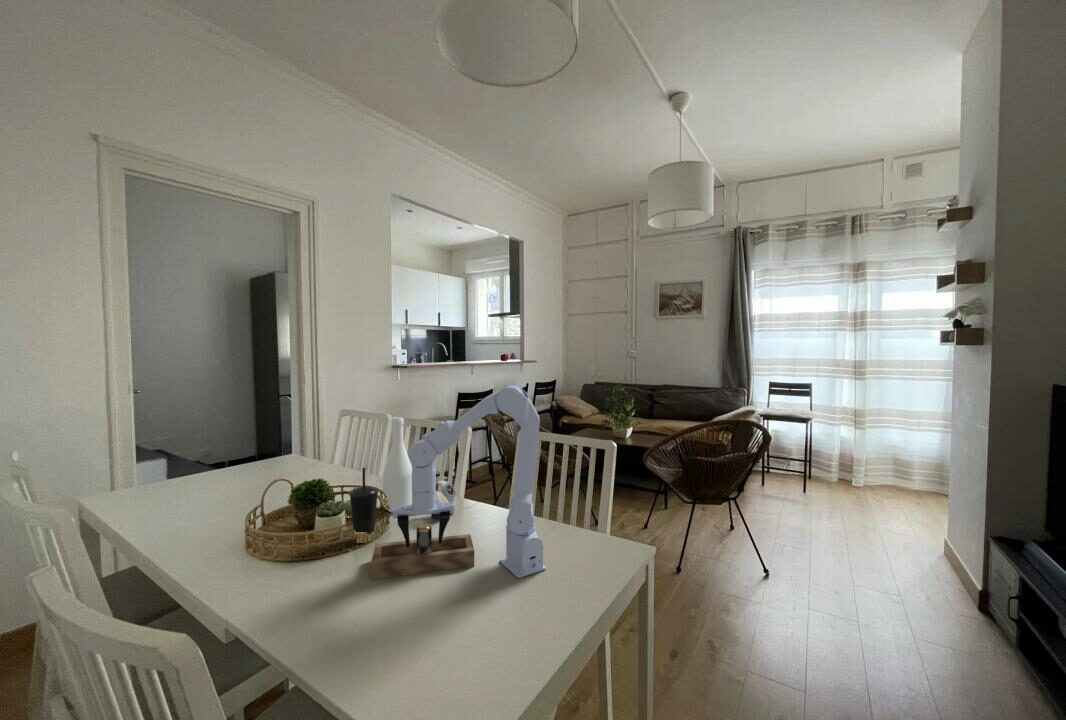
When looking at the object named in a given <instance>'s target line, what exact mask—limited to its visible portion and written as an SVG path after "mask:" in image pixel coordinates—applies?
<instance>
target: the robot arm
mask: <svg viewBox="0 0 1066 720" xmlns="http://www.w3.org/2000/svg"><path fill="white" fill-rule="evenodd" d="M500 412H502V413H503V414H505V415H507V416H508V417H510V418H512V419H513V420H514V421H515V422H516V424H517V425H518V426H519V427H520V434H519V444H518V453H517V461H516V470H515V471H516V472H515V473H516V474H515V481H514V482H515V483H514V491H513V497H512V499H511V501H510V503H509V507H508V509H509V511H508V515H507V517H506V526H505V527H506V530H505V531H506V532H505V533H506V535H505V536H506V537H505V539H506V540H505V541H506V544H505V545H506V547H505V549H506V554H505V555H506V556H505V557H502V558H499V562H500V563H501V564H502V565H503V566H504V567H505V569H506V568H507V570H508V571H509V572H510V573H512V574H513V576H515V577H516V578H518V579H521V578H524V577H526V576H529V575H532V574H536V573H539V572H541V571H544V570H546V569H547V566H546V565H545V564H544V544H543V541H542V539H541V538H540V537H539V536H538V534H537V528H536V523H534V511H535V504H534V502H533V491H534V482H535V481H534V480H535V473H536V461H537V453H538V452H537V451H538V442H539V435H540V423H541V421H540V420H541V419H540V416H539V414H538V412H537V409H536V408H535V406H534V404H533V402H532V400H531V398H530V396H529V394H528V393H527V392H526V390H524V389H523V388H522V387H521V386H519V385H517V384H515V383H510V384H506V385H505V386H504V387H503V388H502V389H501V390H500V389H499V390H497V391H494V392H493V393H491V394H489V395H487V396H485V397H484V398H482V399H481V401H479V402H477V403H476V404H475V405H474V406H472V407H471V408H470V409H469V410H468V411H466V412H465V413H464V414H462V415H461V416H460V417H459V418H457V419H456V420H449V419H448V420H446V421H444V420H443V421H440V422H439V423H438V424H437V427H436V428H435V429H433V430H432V431H431V432H430V433H428V434H427V433H425V434H424V435H422V438H421V439H420V440H418V441H417V442H415V443H414V444H413V446H411V448H410V449H409V450H408V451H409V452H408V457H409V460H410V463H411V466H412V505H408V506H403V507H398V508H393V513H392V519H397V525H398V528H399V529H400V530H401V532H402V535H403V538H404V541H405V542H406V547H409V544H410V540H411V539H410V530H409V529H410V528H409V527H410V525H409V523H410V517H412V516H413V517H414V516H415V517H416V516H425V515H427V516H428V515H431V514H438V513H439V520H438V521H439V522H438V523H439V526H438V537H439V544H441V543H442V537H444V533H445V530H446V527H447V525H448V523H449V521H450V519H451V516H450V513H453V514H455V503H454V502H453V503H449V502H440V503H436V495H437V484H436V483H437V481H436V480H437V475H436V474H437V470H436V458H437V457H438V455H439V456H440V455H442V454H443V453H444V452H446V451H447V450H448V449H450V448H451V447H453V446H454V445H455V444H457V443H458V442H460V441H461V440H462V437H463V431H465V430H466V429H468V428H469V427H471V426H473V425H474V424H475V423H476V422H478V421H479V420H481V419H482V418H484V417H485V416H487V415H493V414H494V415H498V414H499V413H500Z"/></svg>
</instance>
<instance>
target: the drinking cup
mask: <svg viewBox="0 0 1066 720" xmlns="http://www.w3.org/2000/svg"><path fill="white" fill-rule="evenodd" d="M361 476H362V485H360V486H357V487H354V488H353V489H351V490H350V491H348V496H349V498H350V508H351V519H352V527H353V531H354V530H355V531H356V532H367V533H368V534H369V533H370V534H371V532H373V531H374V532H375V529H374V528H375V526H376V517H377V516H376V515H377V504H378V503H377V502H378V494H379V490H380V489H379V488H378V487H376V486H373V485H366V467H362V475H361Z"/></svg>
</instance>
